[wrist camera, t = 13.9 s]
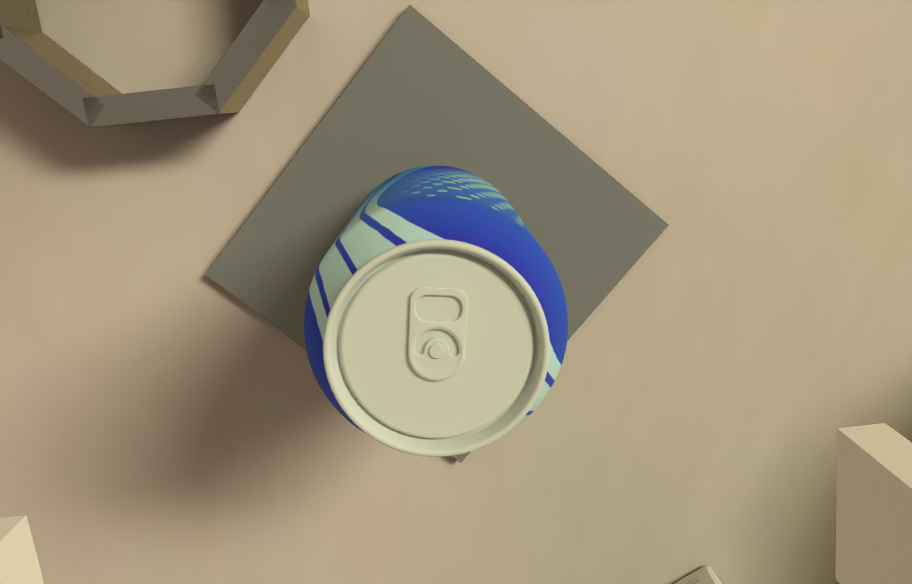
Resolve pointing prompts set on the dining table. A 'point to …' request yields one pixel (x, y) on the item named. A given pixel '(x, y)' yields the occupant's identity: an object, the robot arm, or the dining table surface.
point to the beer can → (435, 315)
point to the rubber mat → (424, 144)
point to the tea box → (700, 577)
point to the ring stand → (99, 104)
